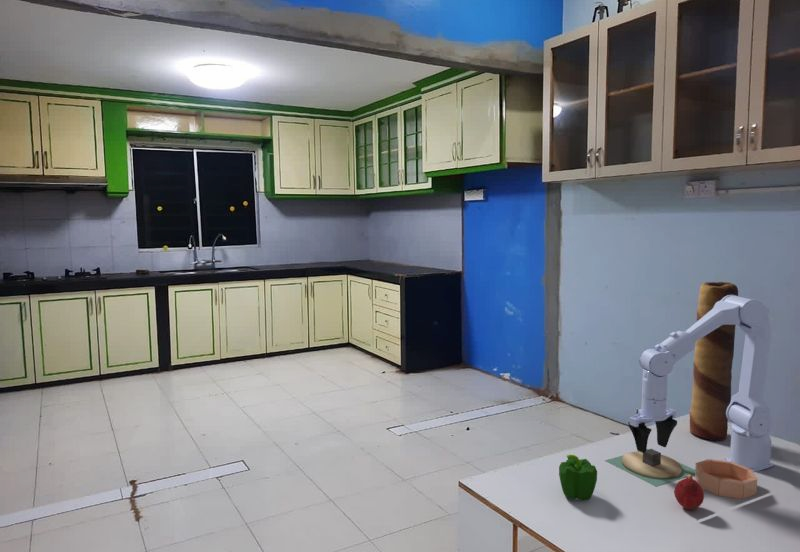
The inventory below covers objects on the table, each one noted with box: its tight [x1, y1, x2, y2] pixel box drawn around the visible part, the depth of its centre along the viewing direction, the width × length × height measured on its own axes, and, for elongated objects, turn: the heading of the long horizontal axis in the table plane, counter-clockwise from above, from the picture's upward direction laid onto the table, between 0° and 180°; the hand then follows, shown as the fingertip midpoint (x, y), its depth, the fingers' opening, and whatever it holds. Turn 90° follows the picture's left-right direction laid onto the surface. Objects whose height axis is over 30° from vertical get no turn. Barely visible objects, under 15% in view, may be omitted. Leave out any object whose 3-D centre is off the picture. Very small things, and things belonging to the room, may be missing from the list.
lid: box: [622, 448, 682, 479], centre depth 144 cm, size 14×14×4 cm
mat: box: [604, 448, 695, 488], centre depth 145 cm, size 16×16×1 cm
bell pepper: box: [558, 454, 598, 502], centre depth 130 cm, size 8×8×10 cm
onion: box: [673, 474, 705, 511], centre depth 124 cm, size 6×6×8 cm
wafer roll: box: [689, 281, 739, 441], centre depth 163 cm, size 10×11×45 cm
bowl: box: [694, 458, 758, 499], centre depth 134 cm, size 12×12×4 cm
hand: (651, 448), depth 144 cm, fingers open, 7 cm apart
